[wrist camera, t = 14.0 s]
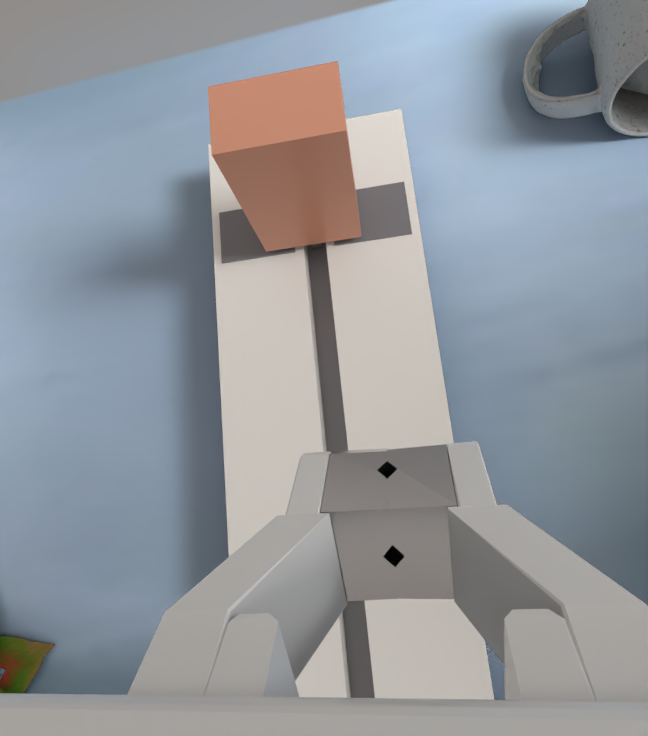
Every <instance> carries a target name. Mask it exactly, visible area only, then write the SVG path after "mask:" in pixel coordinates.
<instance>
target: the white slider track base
mask: <svg viewBox="0 0 648 736" xmlns="http://www.w3.org/2000/svg"><path fill="white" fill-rule="evenodd" d="M346 123H347V130H348V137H349V144H350V151H351V158H352V165H353V173H354V180H355V187H356V195H357V203H358V211H359V219H360V227H361V234H362V237H357V238H350V239H344V240H338V241H331V242H325V243H323V247H319V248H313V249H312V247H311V245H306V246H300V247H293V248H287V249H280V250H274V251H268V252H266V250H265V249H264V247H263V245H262V243H261V241H260V240H259V238H258V236H257V234H256V233H255V231H254V229H253V227H252V226H251V224H250V222H249V220H248V218H247V217H246V215H245V213H244V211H243V210H242V208H241V206H240V204H239V202H238V201H237V199H236V197H235V195H234V194H233V192H232V190H231V188H230V187H229V185H228V183H227V181H226V179H225V178H224V176H223V174H222V172H221V171H220V169H219V167H218V165H217V164H216V162H215V160H214V158H213V156H212V152H211V144H208V148H209V168H210V188H211V208H212V228H213V249H214V269H215V289H216V309H217V329H218V349H219V370H220V390H221V410H222V430H223V450H224V471H225V491H226V511H227V531H228V551H229V556H231V555H232V554H233V553H234V552H235V551H236V550H238V549H239V548H240V547H241V546H242V545H243V544H245V543H246V542H247V541H248V540H249V539H250V538H252V537H253V536H254V535H255V534H256V533H257V532H259V531H260V530H261V529H262V528H263V527H264V526H266V525H267V524H268V523H269V522H270V521H271V520H273V519H274V518H275V517H276V516H278V515H286V511H287V507H288V503H289V499H290V495H291V491H292V488H293V484H294V480H295V476H296V472H297V468H298V464H299V460H300V457H301V456H302V455H303V454H304V453H312V452H326V451H330V452H332V451H346V450H367V449H397V448H408V447H420V446H432V445H444V444H448V443H454V440H453V434H452V428H451V421H450V415H449V409H448V402H447V396H446V390H445V383H444V377H443V371H442V364H441V358H440V352H439V345H438V339H437V332H436V326H435V320H434V313H433V307H432V301H431V294H430V288H429V282H428V275H427V269H426V263H425V256H424V250H423V244H422V237H421V231H420V224H419V218H418V212H417V205H416V199H415V193H414V186H413V180H412V174H411V167H410V161H409V155H408V148H407V142H406V136H405V129H404V123H403V117H402V110H401V109H398V110H392V111H387V112H381V113H376V114H371V115H365V116H360V117H354V118H349V119H346ZM295 683H296V687H297V690H298V694H299V697H333V698H410V699H488V700H494V694H493V688H492V682H491V675H490V669H489V663H488V656H487V650H486V644H485V640H484V638H483V637H482V636H481V635H480V633H479V632H478V631H477V630H476V628H475V627H474V626H473V625H472V623H471V622H470V621H469V620H468V618H467V617H466V616H465V615H464V613H463V612H462V611H461V609H460V608H459V607H458V606H457V604H456V603H455V602H454V599H384V600H363V601H347V606H346V607H345V608H344V610H343V611H342V613H341V614H340V616H339V617H338V619H337V620H336V622H335V623H334V625H333V626H332V628H331V629H330V631H329V632H328V633H327V635H326V636H325V638H324V639H323V641H322V642H321V644H320V645H319V647H318V648H317V650H316V651H315V653H314V654H313V656H312V657H311V659H310V660H309V661H308V663H307V664H306V666H305V667H304V669H303V670H302V672H301V673H300V675H299V676H298V678H297V679H296V681H295Z"/></svg>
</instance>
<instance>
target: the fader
mask: <svg viewBox="0 0 648 736" xmlns="http://www.w3.org/2000/svg"><path fill="white" fill-rule="evenodd" d="M208 93H209V113H210V132H211V152H212V156H213V158H214V160H215V162H216V164H217V165H218V167H219V169H220V171H221V172H222V174H223V176H224V178H225V179H226V181H227V183H228V185H229V187H230V188H231V190H232V192H233V194H234V195H235V197H236V199H237V201H238V202H239V204H240V206H241V208H242V210H243V211H244V213H245V215H246V217H247V218H248V220H249V222H250V224H251V226H252V227H253V229H254V231H255V233H256V234H257V236H258V238H259V240H260V241H261V243H262V245H263V247H264V249H265V250H266V252H268V251H274V250H280V249H287V248H293V247H300V246H306V245H311V247H312V249H313V248H319V247H323V243H325V242H331V241H338V240H344V239H350V238H357V237H362V234H361V227H360V219H359V211H358V203H357V195H356V187H355V180H354V173H353V165H352V158H351V151H350V144H349V137H348V130H347V123H346V116H345V108H344V101H343V94H342V87H341V80H340V73H339V66H338V61H335V62H330V63H325V64H320V65H315V66H310V67H305V68H300V69H295V70H290V71H285V72H280V73H275V74H270V75H265V76H260V77H255V78H249V79H244V80H239V81H234V82H229V83H224V84H219V85H214V86H209V87H208Z"/></svg>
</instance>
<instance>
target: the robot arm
mask: <svg viewBox="0 0 648 736" xmlns="http://www.w3.org/2000/svg"><path fill="white" fill-rule="evenodd" d="M384 599H454V602H455V603H456V604H457V606H458V607H459V608H460V609H461V611H462V612H463V613H464V615H465V616H466V617H467V618H468V620H469V621H470V622H471V623H472V625H473V626H474V627H475V628H476V630H477V631H478V632H479V633H480V635H481V636H482V637H483V638H484V640H485V641H486V642H487V643H488V645H489V646H490V647H491V648H492V650H493V651H494V652H495V654H496V655H497V656H498V657H499V659H500V660H501V661H502V662H503V664H504V665H505V700H488V699H410V698H333V697H299V694H298V690H297V687H296V683H295V681H296V679H297V678H298V676H299V675H300V673H301V672H302V670H303V669H304V667H305V666H306V664H307V663H308V661H309V660H310V659H311V657H312V656H313V654H314V653H315V651H316V650H317V648H318V647H319V645H320V644H321V642H322V641H323V639H324V638H325V636H326V635H327V633H328V632H329V631H330V629H331V628H332V626H333V625H334V623H335V622H336V620H337V619H338V617H339V616H340V614H341V613H342V611H343V610H344V608H345V607H346V606H347V601H363V600H384ZM0 736H648V605H647V604H645V603H644V602H643V601H641V600H640V599H638V598H637V597H636V596H634V595H633V594H631V593H630V592H629V591H627V590H626V589H624V588H623V587H622V586H620V585H619V584H617V583H616V582H615V581H613V580H612V579H610V578H609V577H608V576H606V575H605V574H603V573H602V572H601V571H599V570H598V569H596V568H595V567H594V566H592V565H591V564H589V563H588V562H587V561H585V560H584V559H582V558H581V557H580V556H578V555H577V554H575V553H574V552H573V551H571V550H570V549H568V548H567V547H566V546H564V545H563V544H561V543H560V542H559V541H557V540H556V539H554V538H553V537H552V536H550V535H549V534H547V533H546V532H545V531H543V530H542V529H540V528H539V527H538V526H536V525H535V524H533V523H532V522H531V521H529V520H528V519H526V518H525V517H524V516H522V515H521V514H519V513H518V512H517V511H515V510H514V509H512V508H511V507H510V506H508V505H506V504H503V505H497V503H496V500H495V497H494V493H493V490H492V487H491V483H490V480H489V476H488V473H487V470H486V466H485V463H484V460H483V456H482V453H481V449H480V446H479V443H478V442H476V441H468V442H458V443H448V444H444V445H432V446H420V447H408V448H397V449H367V450H346V451H332V452H330V451H326V452H312V453H304V454H303V455H302V456H301V457H300V460H299V464H298V468H297V472H296V476H295V480H294V484H293V488H292V491H291V495H290V499H289V503H288V507H287V511H286V515H278V516H276V517H275V518H274V519H273V520H271V521H270V522H269V523H268V524H267V525H266V526H264V527H263V528H262V529H261V530H260V531H259V532H257V533H256V534H255V535H254V536H253V537H252V538H250V539H249V540H248V541H247V542H246V543H245V544H243V545H242V546H241V547H240V548H239V549H238V550H236V551H235V552H234V553H233V554H232V555H231V556H229V557H228V558H227V559H226V560H225V561H224V562H222V563H221V564H220V565H219V566H218V567H217V568H215V569H214V570H213V571H212V572H211V573H210V574H208V575H207V576H206V577H205V578H204V579H203V580H201V581H200V582H199V583H198V584H197V585H196V586H194V587H193V588H192V589H191V590H190V591H189V592H187V593H186V594H185V595H184V596H183V597H182V598H180V599H179V600H178V601H177V602H176V603H175V604H173V605H172V606H171V607H170V608H169V609H168V610H166V611H165V612H164V615H163V617H162V619H161V621H160V623H159V626H158V628H157V630H156V632H155V634H154V637H153V639H152V641H151V643H150V645H149V648H148V650H147V652H146V654H145V656H144V659H143V661H142V663H141V665H140V667H139V670H138V672H137V674H136V676H135V678H134V681H133V683H132V685H131V687H130V689H129V692H128V694H127V695H97V694H17V693H0Z"/></svg>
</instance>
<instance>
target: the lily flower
mask: <svg viewBox="0 0 648 736" xmlns="http://www.w3.org/2000/svg"><path fill="white" fill-rule="evenodd" d="M54 645H55V644H45V643H40V642H36V641H33V642H31V643H30V642H29V641H28V640H27V639H22V638H17V637H8V636H2V637H0V668H3V669H6V671H5V672H4V674H3V676H2V677H1V679H0V693H17V694H23V693H24V692H25V690H26V689H27V687H28V686H29V684H30V683H31V681H32V680H33V678H34V676H35V675H36V673H37V671H38V669H39V668H40V666H41V664H42V661H43V658H44V655H45V654H47V653H48V652H49V651H50V649H51V648H52V647H53V646H54Z"/></svg>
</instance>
